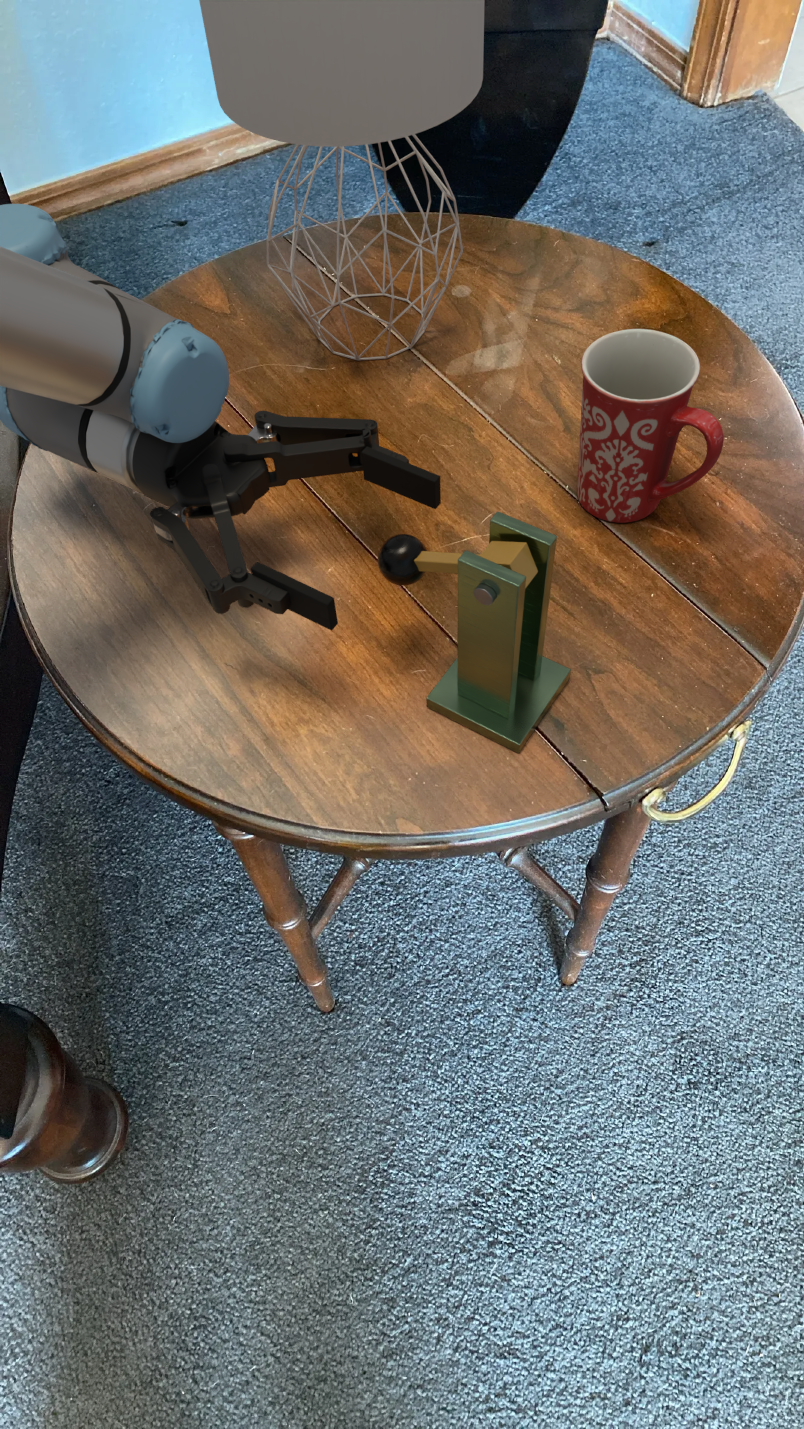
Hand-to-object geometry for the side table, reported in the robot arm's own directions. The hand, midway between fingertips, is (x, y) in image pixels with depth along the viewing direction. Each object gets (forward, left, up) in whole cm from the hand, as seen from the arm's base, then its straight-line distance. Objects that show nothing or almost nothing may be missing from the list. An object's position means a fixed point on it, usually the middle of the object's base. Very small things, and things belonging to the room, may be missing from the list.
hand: (388, 551), depth 69 cm
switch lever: (+5, -4, 0) cm, 6 cm away
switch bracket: (+7, -6, -10) cm, 14 cm away
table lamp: (+2, +42, -10) cm, 43 cm away
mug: (+22, +12, -10) cm, 27 cm away
